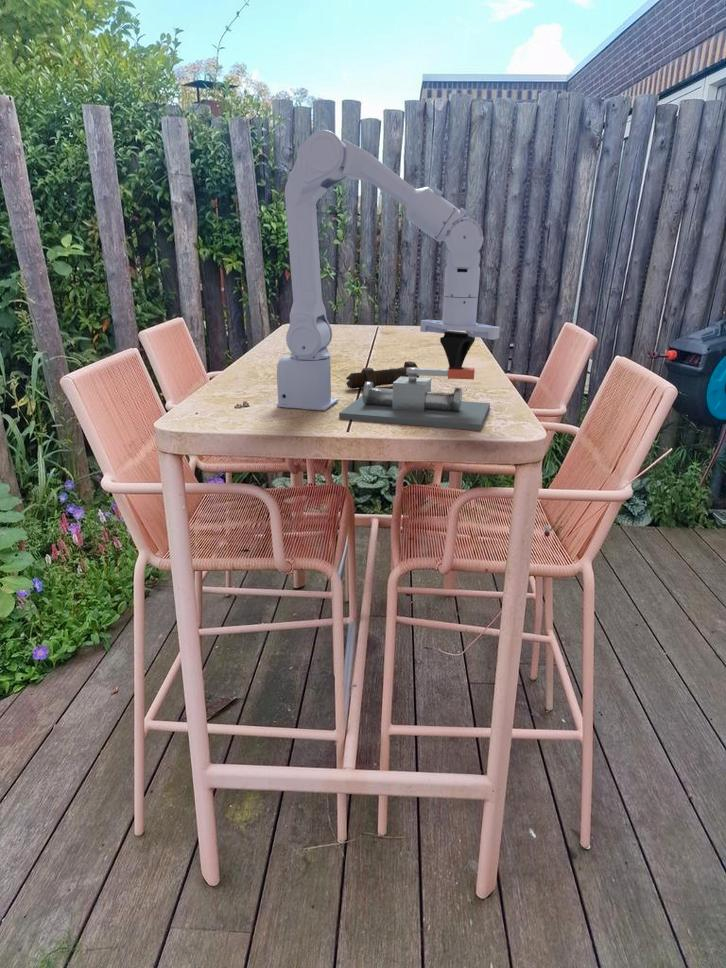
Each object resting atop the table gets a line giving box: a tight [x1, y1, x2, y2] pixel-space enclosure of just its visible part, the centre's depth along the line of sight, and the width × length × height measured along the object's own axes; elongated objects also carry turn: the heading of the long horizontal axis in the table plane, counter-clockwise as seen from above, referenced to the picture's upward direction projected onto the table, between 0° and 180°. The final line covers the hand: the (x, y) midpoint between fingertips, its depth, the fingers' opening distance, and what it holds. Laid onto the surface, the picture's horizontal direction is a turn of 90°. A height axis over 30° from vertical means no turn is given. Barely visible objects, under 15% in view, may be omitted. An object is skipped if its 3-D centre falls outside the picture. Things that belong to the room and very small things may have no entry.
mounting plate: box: [338, 394, 491, 432], centre depth 105 cm, size 24×15×1 cm, turn 73°
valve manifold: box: [362, 375, 463, 412], centre depth 104 cm, size 17×6×6 cm, turn 73°
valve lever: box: [406, 366, 476, 381], centre depth 102 cm, size 12×2×2 cm, turn 80°
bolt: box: [345, 361, 420, 390], centre depth 124 cm, size 6×5×15 cm
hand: (455, 377), depth 104 cm, fingers closed, pressing on valve lever
